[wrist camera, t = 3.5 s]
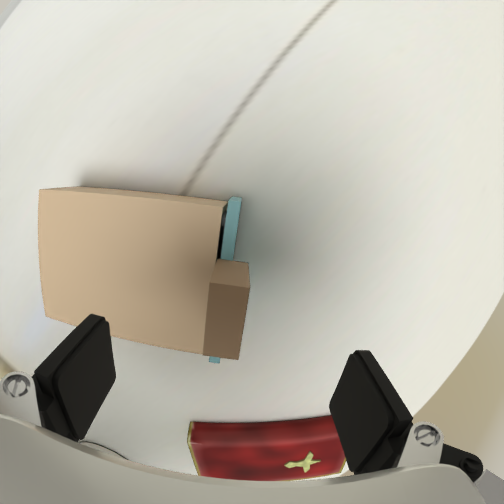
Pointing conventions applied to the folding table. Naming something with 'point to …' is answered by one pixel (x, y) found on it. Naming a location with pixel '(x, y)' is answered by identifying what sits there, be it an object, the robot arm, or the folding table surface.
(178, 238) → the cardboard box
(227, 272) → the tray
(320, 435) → the hardcover book
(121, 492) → the robot arm
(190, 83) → the folding table surface
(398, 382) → the folding table surface
